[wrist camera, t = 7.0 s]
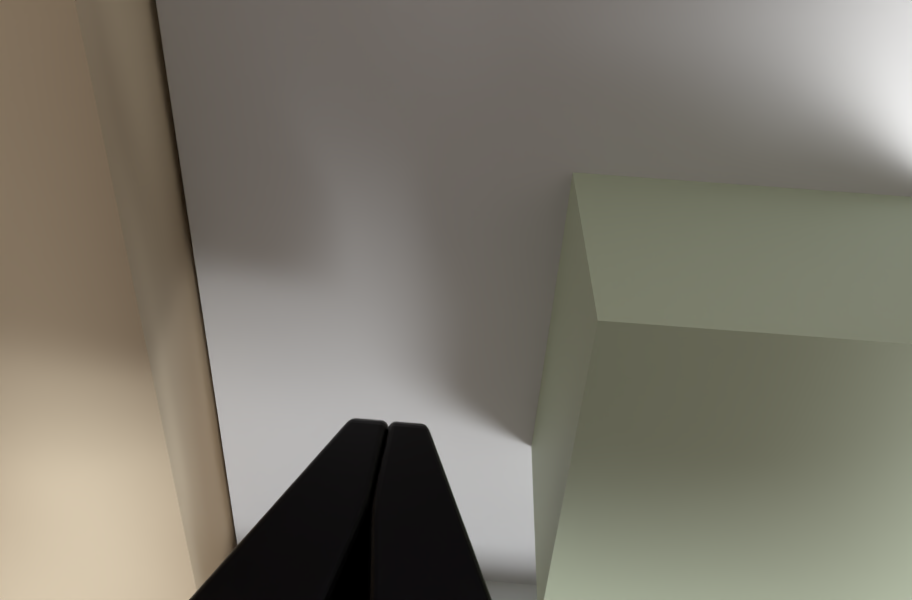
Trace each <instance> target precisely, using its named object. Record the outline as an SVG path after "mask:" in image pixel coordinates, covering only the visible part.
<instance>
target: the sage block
mask: <svg viewBox="0 0 912 600" xmlns="http://www.w3.org/2000/svg"><path fill="white" fill-rule="evenodd" d="M531 452H532V478H533V504H534V531H535V557H536V583H537V600H912V197H906V196H893V195H879V194H865V193H851V192H837V191H823V190H809V189H796V188H782V187H768V186H754V185H740V184H726V183H712V182H698V181H685V180H671V179H657V178H643V177H629V176H615V175H601V174H588V173H574V172H573V174H572V181H571V187H570V194H569V201H568V207H567V214H566V220H565V227H564V234H563V240H562V247H561V253H560V260H559V267H558V273H557V280H556V287H555V293H554V300H553V306H552V313H551V320H550V326H549V333H548V340H547V346H546V353H545V359H544V366H543V373H542V379H541V386H540V392H539V399H538V406H537V412H536V419H535V426H534V432H533V439H532V445H531Z"/></svg>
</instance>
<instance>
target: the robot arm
mask: <svg viewBox="0 0 912 600" xmlns="http://www.w3.org/2000/svg"><path fill="white" fill-rule="evenodd" d="M189 600H492V598H491V596H490V593H489V590H488V588H487V585H486V582H485V579H484V577H483V574H482V571H481V569H480V566H479V563H478V560H477V558H476V555H475V552H474V550H473V547H472V544H471V541H470V539H469V536H468V533H467V531H466V528H465V525H464V522H463V520H462V517H461V514H460V512H459V509H458V506H457V503H456V501H455V498H454V495H453V493H452V490H451V487H450V484H449V482H448V479H447V476H446V474H445V471H444V468H443V465H442V463H441V460H440V457H439V455H438V452H437V449H436V446H435V444H434V441H433V438H432V436H431V433H430V430H429V428H428V427H427V426H426V425H425V424H421V423H409V422H398V421H395V422H392V423H391V424H390V425H389V427H388V424H387V423H386V422H385V421H383V420H374V419H363V418H353V419H350V420H349V421H348V422H347V423H346V424H345V425H344V426H343V427H342V428H341V429H340V430H339V431H338V433H337V434H336V435H335V436H334V437H333V438H332V439H331V440H330V442H329V443H328V444H327V445H326V446H325V447H324V448H323V449H322V451H321V452H320V453H319V454H318V455H317V456H316V457H315V458H314V460H313V461H312V462H311V463H310V464H309V465H308V466H307V467H306V469H305V470H304V471H303V472H302V473H301V474H300V475H299V476H298V478H297V479H296V480H295V481H294V482H293V483H292V484H291V485H290V487H289V488H288V489H287V490H286V491H285V492H284V493H283V494H282V496H281V497H280V498H279V499H278V500H277V501H276V502H275V503H274V505H273V506H272V507H271V508H270V509H269V510H268V511H267V512H266V514H265V515H264V516H263V517H262V518H261V519H260V520H259V521H258V523H257V524H256V525H255V526H254V527H253V528H252V529H251V530H250V532H249V533H248V534H247V535H246V536H245V537H244V538H243V539H242V541H241V542H240V543H239V544H238V545H237V546H236V547H235V548H234V550H233V551H232V552H231V553H230V554H229V555H228V556H227V557H226V559H225V560H224V561H223V562H222V563H221V564H220V565H219V566H218V568H217V569H216V570H215V571H214V572H213V573H212V574H211V575H210V577H209V578H208V579H207V580H206V581H205V582H204V583H203V584H202V585H201V587H200V588H199V589H198V590H197V591H196V592H195V593H194V594H193V596H192V597H191V598H190V599H189Z"/></svg>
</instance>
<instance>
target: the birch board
mask: <svg viewBox="0 0 912 600" xmlns="http://www.w3.org/2000/svg"><path fill="white" fill-rule="evenodd" d="M236 546H237V539H236V533H235V526H234V519H233V512H232V506H231V499H230V492H229V486H228V479H227V472H226V466H225V459H224V452H223V446H222V439H221V432H220V426H219V419H218V412H217V406H216V399H215V392H214V386H213V379H212V372H211V366H210V359H209V352H208V346H207V339H206V332H205V326H204V319H203V312H202V306H201V299H200V292H199V286H198V279H197V272H196V266H195V259H194V252H193V246H192V239H191V232H190V226H189V219H188V212H187V206H186V199H185V192H184V186H183V179H182V172H181V166H180V159H179V152H178V146H177V139H176V132H175V126H174V119H173V112H172V106H171V99H170V92H169V85H168V79H167V72H166V65H165V59H164V52H163V45H162V39H161V32H160V25H159V19H158V12H157V5H156V0H0V600H189V599H190V598H191V597H192V596H193V594H194V593H195V592H196V591H197V590H198V589H199V588H200V587H201V585H202V584H203V583H204V582H205V581H206V580H207V579H208V578H209V577H210V575H211V574H212V573H213V572H214V571H215V570H216V569H217V568H218V566H219V565H220V564H221V563H222V562H223V561H224V560H225V559H226V557H227V556H228V555H229V554H230V553H231V552H232V551H233V550H234V548H235V547H236Z"/></svg>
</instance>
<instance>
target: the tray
mask: <svg viewBox="0 0 912 600" xmlns="http://www.w3.org/2000/svg"><path fill="white" fill-rule="evenodd" d="M156 5H157V12H158V19H159V25H160V32H161V39H162V45H163V52H164V59H165V65H166V72H167V79H168V85H169V92H170V99H171V106H172V112H173V119H174V126H175V132H176V139H177V146H178V152H179V159H180V166H181V172H182V179H183V186H184V192H185V199H186V206H187V212H188V219H189V226H190V232H191V239H192V246H193V252H194V259H195V266H196V272H197V279H198V286H199V292H200V299H201V306H202V312H203V319H204V326H205V332H206V339H207V346H208V352H209V359H210V366H211V372H212V379H213V386H214V392H215V399H216V406H217V412H218V419H219V426H220V432H221V439H222V446H223V452H224V459H225V466H226V472H227V479H228V486H229V492H230V499H231V506H232V512H233V519H234V526H235V533H236V539H237V545H238V544H239V543H240V542H241V541H242V539H243V538H244V537H245V536H246V535H247V534H248V533H249V532H250V530H251V529H252V528H253V527H254V526H255V525H256V524H257V523H258V521H259V520H260V519H261V518H262V517H263V516H264V515H265V514H266V512H267V511H268V510H269V509H270V508H271V507H272V506H273V505H274V503H275V502H276V501H277V500H278V499H279V498H280V497H281V496H282V494H283V493H284V492H285V491H286V490H287V489H288V488H289V487H290V485H291V484H292V483H293V482H294V481H295V480H296V479H297V478H298V476H299V475H300V474H301V473H302V472H303V471H304V470H305V469H306V467H307V466H308V465H309V464H310V463H311V462H312V461H313V460H314V458H315V457H316V456H317V455H318V454H319V453H320V452H321V451H322V449H323V448H324V447H325V446H326V445H327V444H328V443H329V442H330V440H331V439H332V438H333V437H334V436H335V435H336V434H337V433H338V431H339V430H340V429H341V428H342V427H343V426H344V425H345V424H346V423H347V422H348V421H349V420H350V419H353V418H363V419H374V420H383V421H385V422H386V423H387V424H388V427H389V425H390V424H391V423H392V422H395V421H398V422H409V423H421V424H425V425H426V426H427V427H428V428H429V430H430V433H431V436H432V438H433V441H434V444H435V446H436V449H437V452H438V455H439V457H440V460H441V463H442V465H443V468H444V471H445V474H446V476H447V479H448V482H449V484H450V487H451V490H452V493H453V495H454V498H455V501H456V503H457V506H458V509H459V512H460V514H461V517H462V520H463V522H464V525H465V528H466V531H467V533H468V536H469V539H470V541H471V544H472V547H473V550H474V552H475V555H476V558H477V560H478V563H479V566H480V569H481V571H482V574H483V577H484V579H485V582H486V585H487V588H488V590H489V593H490V596H491V598H492V600H537V583H536V557H535V531H534V504H533V478H532V452H531V445H532V439H533V432H534V426H535V419H536V412H537V406H538V399H539V392H540V386H541V379H542V373H543V366H544V359H545V353H546V346H547V340H548V333H549V326H550V320H551V313H552V306H553V300H554V293H555V287H556V280H557V273H558V267H559V260H560V253H561V247H562V240H563V234H564V227H565V220H566V214H567V207H568V201H569V194H570V187H571V181H572V174H573V172H574V173H588V174H601V175H615V176H629V177H643V178H657V179H671V180H685V181H698V182H712V183H726V184H740V185H754V186H768V187H782V188H796V189H809V190H823V191H837V192H851V193H865V194H879V195H893V196H906V197H912V0H156Z"/></svg>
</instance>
